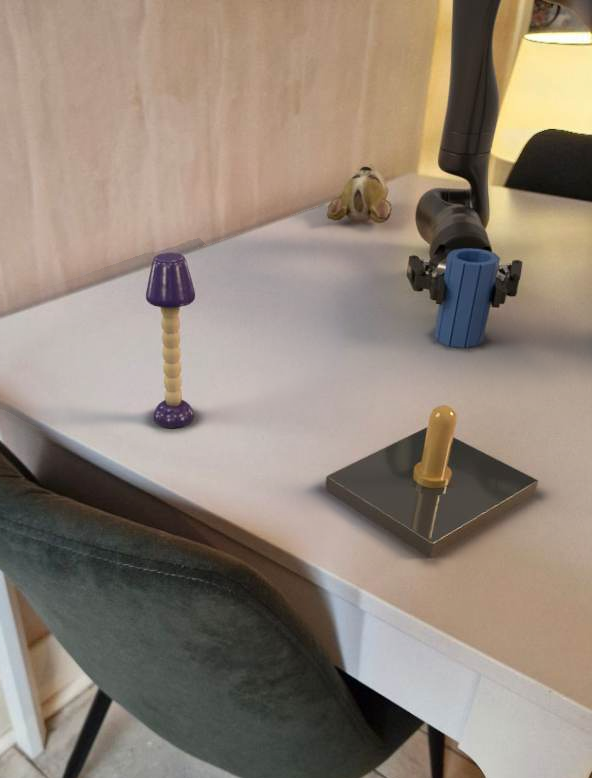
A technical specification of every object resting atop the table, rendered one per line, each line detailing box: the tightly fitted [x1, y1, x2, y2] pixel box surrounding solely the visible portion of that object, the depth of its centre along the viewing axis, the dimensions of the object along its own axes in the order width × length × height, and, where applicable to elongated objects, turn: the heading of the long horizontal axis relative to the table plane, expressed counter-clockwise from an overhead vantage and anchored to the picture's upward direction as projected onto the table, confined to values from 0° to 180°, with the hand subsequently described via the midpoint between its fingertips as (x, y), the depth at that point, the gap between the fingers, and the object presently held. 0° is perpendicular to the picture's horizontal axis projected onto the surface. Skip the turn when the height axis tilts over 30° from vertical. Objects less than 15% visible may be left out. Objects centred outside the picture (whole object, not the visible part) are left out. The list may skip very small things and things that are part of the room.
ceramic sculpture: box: [326, 163, 393, 224], centre depth 130 cm, size 11×9×15 cm
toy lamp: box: [145, 252, 196, 429], centre depth 74 cm, size 5×5×17 cm
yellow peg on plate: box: [324, 404, 539, 558], centre depth 65 cm, size 14×12×9 cm
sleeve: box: [433, 248, 501, 349], centre depth 90 cm, size 6×6×10 cm
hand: (469, 298), depth 88 cm, fingers closed on sleeve, 5 cm apart
